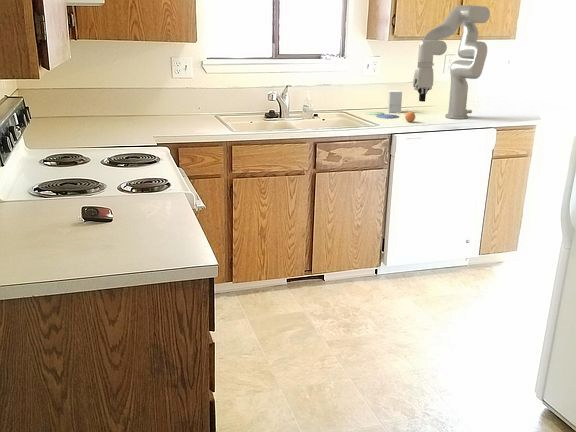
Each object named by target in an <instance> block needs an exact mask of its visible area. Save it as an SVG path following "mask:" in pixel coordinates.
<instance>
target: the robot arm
mask: <svg viewBox="0 0 576 432" xmlns="http://www.w3.org/2000/svg"><path fill="white" fill-rule="evenodd" d="M490 16H491V11H490V9H489V8H488V7H487V6H484V5H483V6H481V5H473V4H472V5H468V4H463V5H456V6H454V7H453V8H452V9H451V11H450V12H449V13H448V15H447V16H446V18H444V20H443V22H442V23H441V24H439V25H437V26H436V27H434V28H433V29H430V30H429V31H428V32H427V33H426V34H425V35H424V36H423V38H422V39H421V41H420V42H419V44H418V45H419V46H418V57H417V67H416V68H415V71H414V74H413V82H412V87H413V91H417V92H418V95H419V96H418V101H419V102H426V98H427V97H426V95H427V94H428V92H429V91H430V90H433V86H434V68H433V66H434V65H435V63H434V56H442V55H444V54H445V53H446V52H447V48H448V47H447V46H448V45H447V43H446V42H445V41H443V40H442V39H445V38H449V37H451V36H454V34H456V33H457V31H458V29H459V28H460V27H461V26H462V34H461V38H460V41H459V46H458V50H457V55H458V57H459V58H461V59H459V60H458V59H457V60H455V61H453V62H452V63H451V65H450V66H449V67H450V69H449V71H450V72H449V73H450V90H449V101H448V112H447V113H446V114H445V115H444V116H445V118H448V119H455V120H464V119H469V115H468V114H472V113H473V110H472V109H467V102H468V92H469V91H468V90H469V84H468V81H467V79H470V80H476V79H479V78H480V77H481V75H482V72H483V70H484V67H485V62H486V58H487V55H488V46H487V44H486V42H484V41H479V40H478V38H479V29H478V27H477V25H476V24H485V23H487V22H488V21H489V20H490ZM462 59H467V60H462Z"/></svg>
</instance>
